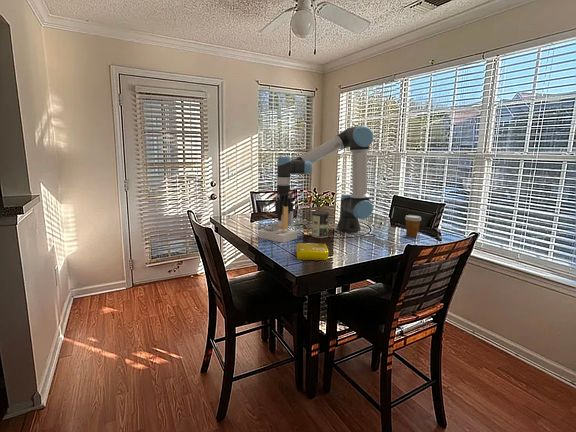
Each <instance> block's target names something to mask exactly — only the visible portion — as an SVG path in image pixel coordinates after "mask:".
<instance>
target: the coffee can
mask: <svg viewBox="0 0 576 432" xmlns="http://www.w3.org/2000/svg"><path fill="white" fill-rule="evenodd" d="M329 217H330V213H329V212H328V211H318V210H316V211H312V212H311V233H310V234H311V235H310V236H311V237H313V238H319V239H324V238H328V236H329V223H330V222H329V220H330V218H329Z"/></svg>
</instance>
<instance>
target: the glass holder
mask: <svg viewBox="0 0 576 432" xmlns="http://www.w3.org/2000/svg"><path fill="white" fill-rule="evenodd" d="M283 206H284V204H283ZM297 206H298V204H296V205H295V207H294V203H293V202H291V212H290V214H288V227H292V226H294V221H295V220H296V219H297V218H298V217H299V216H300V215H301V212H302V209H299V210H300V211H299V213H298V214H297V216H296V217H295V218H294V212H295V211H296V209H297ZM299 206H300V208H302V206H301V205H299Z"/></svg>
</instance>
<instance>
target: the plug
mask: <svg viewBox="0 0 576 432" xmlns="http://www.w3.org/2000/svg"><path fill="white" fill-rule="evenodd" d="M282 215H283V226H278V229H281V230H285V229H289V226H288V206H283V210H282Z"/></svg>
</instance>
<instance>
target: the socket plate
mask: <svg viewBox="0 0 576 432" xmlns="http://www.w3.org/2000/svg"><path fill="white" fill-rule="evenodd" d="M298 233H299V232H298V230H294V229H289V228H288V229H285V230H281V229H279V230H275V231H269V230H264V228H263V229H260V230H258V238H260V239H263V240H267V241H269V240H270V241H273V242H277V243H281V244H284V243H287V242H290V241H293V240H296V239H298V237H299V235H298Z"/></svg>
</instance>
